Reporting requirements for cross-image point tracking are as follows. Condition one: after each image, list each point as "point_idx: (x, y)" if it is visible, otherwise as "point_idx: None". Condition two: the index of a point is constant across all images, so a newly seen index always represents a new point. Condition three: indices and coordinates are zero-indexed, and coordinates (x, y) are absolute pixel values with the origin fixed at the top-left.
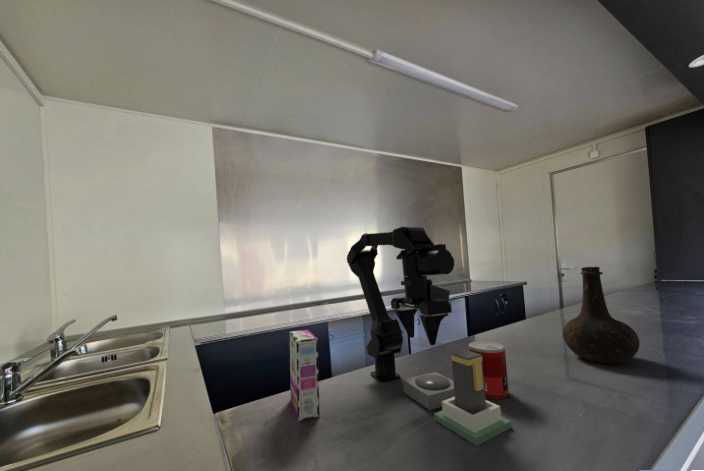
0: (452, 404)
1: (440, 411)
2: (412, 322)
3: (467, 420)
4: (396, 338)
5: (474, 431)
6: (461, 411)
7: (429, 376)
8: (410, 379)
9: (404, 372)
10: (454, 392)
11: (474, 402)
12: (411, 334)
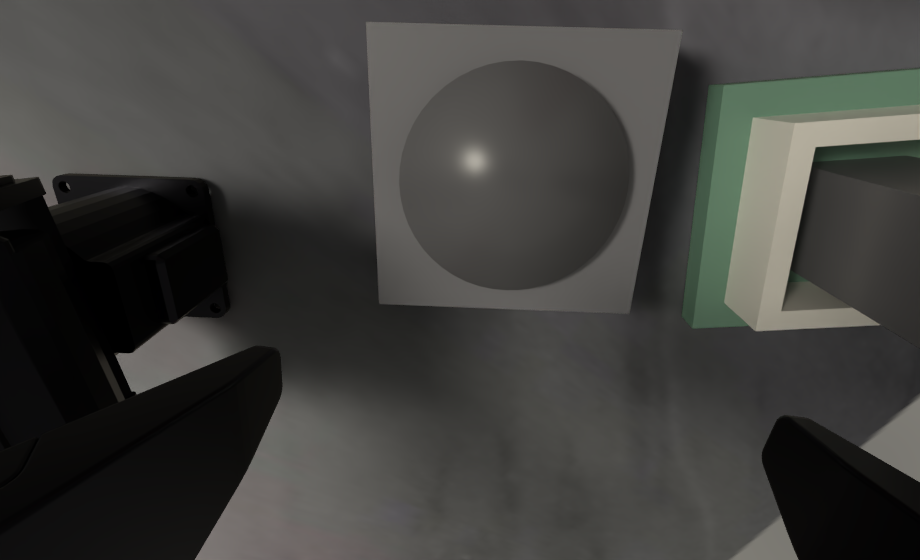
0: (816, 309)
1: (700, 294)
2: (96, 511)
3: None
4: (16, 347)
5: None
6: None
7: (443, 150)
8: (400, 267)
9: (122, 100)
10: (854, 308)
11: None
12: (261, 406)
